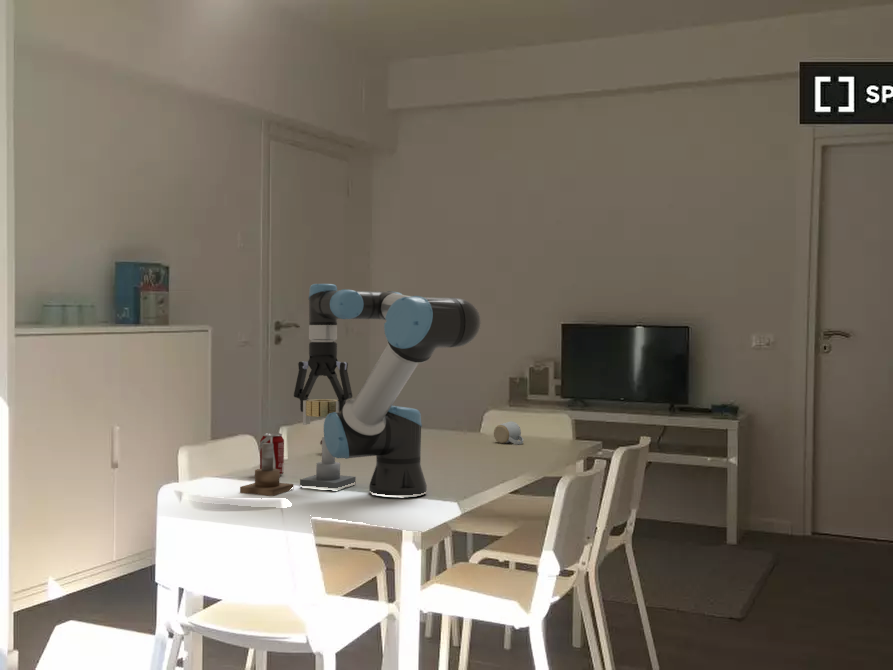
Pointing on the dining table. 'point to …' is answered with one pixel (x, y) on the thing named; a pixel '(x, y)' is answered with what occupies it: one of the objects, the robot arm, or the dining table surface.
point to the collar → (320, 407)
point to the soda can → (274, 450)
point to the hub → (327, 472)
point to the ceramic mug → (508, 433)
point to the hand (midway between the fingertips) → (322, 424)
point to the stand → (266, 476)
